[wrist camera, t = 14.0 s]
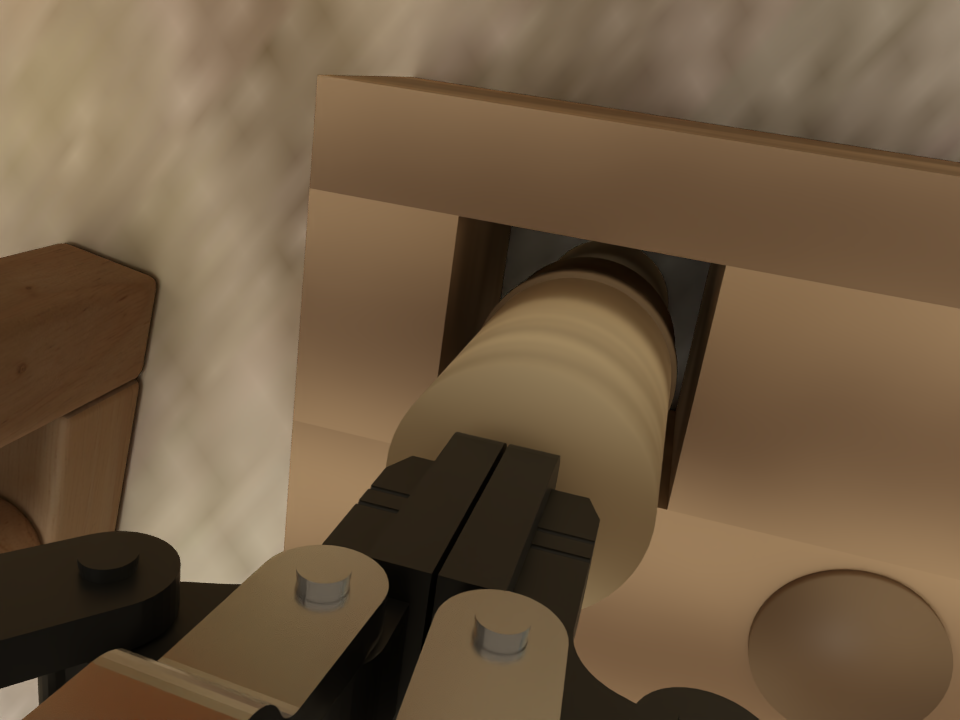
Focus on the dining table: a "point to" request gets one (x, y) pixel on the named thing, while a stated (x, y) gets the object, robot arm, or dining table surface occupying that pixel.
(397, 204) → the seat block
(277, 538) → the dining table surface
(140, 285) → the wooden block
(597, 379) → the peg
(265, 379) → the dining table surface
